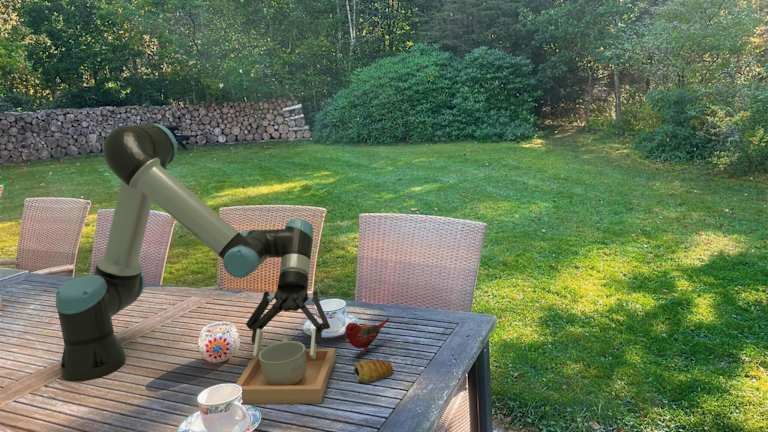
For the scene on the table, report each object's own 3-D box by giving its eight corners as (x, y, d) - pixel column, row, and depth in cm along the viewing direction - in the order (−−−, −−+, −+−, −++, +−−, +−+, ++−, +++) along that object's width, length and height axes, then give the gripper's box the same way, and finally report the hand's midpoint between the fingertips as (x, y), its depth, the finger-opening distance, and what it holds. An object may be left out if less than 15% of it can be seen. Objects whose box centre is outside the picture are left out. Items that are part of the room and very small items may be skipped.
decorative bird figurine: (341, 361, 145) (339, 325, 143) (386, 337, 158) (384, 303, 156) (350, 364, 143) (347, 327, 141) (394, 339, 156) (393, 305, 154)
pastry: (387, 365, 142) (387, 351, 141) (397, 378, 136) (396, 363, 135) (351, 373, 139) (350, 359, 138) (360, 386, 133) (359, 371, 132)
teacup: (301, 393, 129) (298, 361, 127) (255, 392, 130) (251, 360, 128) (315, 364, 142) (313, 334, 141) (273, 363, 144) (270, 334, 142)
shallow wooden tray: (233, 403, 128) (232, 389, 127) (259, 361, 147) (258, 349, 147) (321, 403, 126) (320, 389, 125) (335, 360, 146) (334, 348, 145)
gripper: (344, 281, 147) (339, 361, 136) (250, 282, 149) (237, 362, 138) (339, 267, 141) (333, 351, 129) (242, 269, 143) (227, 352, 132)
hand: (284, 357), depth 134 cm, fingers open, 13 cm apart
